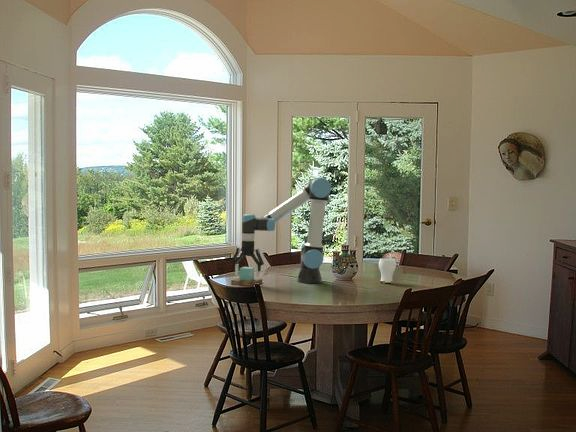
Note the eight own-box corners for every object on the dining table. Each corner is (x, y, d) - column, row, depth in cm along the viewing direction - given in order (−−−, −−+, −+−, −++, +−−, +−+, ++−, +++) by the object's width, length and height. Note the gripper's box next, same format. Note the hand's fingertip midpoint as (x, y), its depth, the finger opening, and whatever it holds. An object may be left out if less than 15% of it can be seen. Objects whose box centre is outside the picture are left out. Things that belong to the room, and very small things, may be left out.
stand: (262, 283, 376) (262, 270, 375) (252, 286, 362) (253, 273, 362) (241, 280, 380) (241, 268, 380) (231, 284, 367) (231, 271, 367)
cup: (396, 282, 394) (398, 259, 393) (392, 285, 384) (393, 260, 383) (380, 281, 398) (381, 257, 398) (375, 283, 389) (376, 259, 388)
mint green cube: (253, 279, 373) (254, 267, 373) (249, 280, 367) (249, 269, 367) (243, 278, 376) (244, 266, 375) (239, 279, 369) (239, 268, 369)
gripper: (270, 241, 369) (268, 276, 370) (231, 238, 378) (230, 273, 379) (265, 242, 362) (263, 278, 363) (226, 239, 371) (225, 274, 372)
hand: (247, 275), depth 371 cm, fingers open, 13 cm apart
